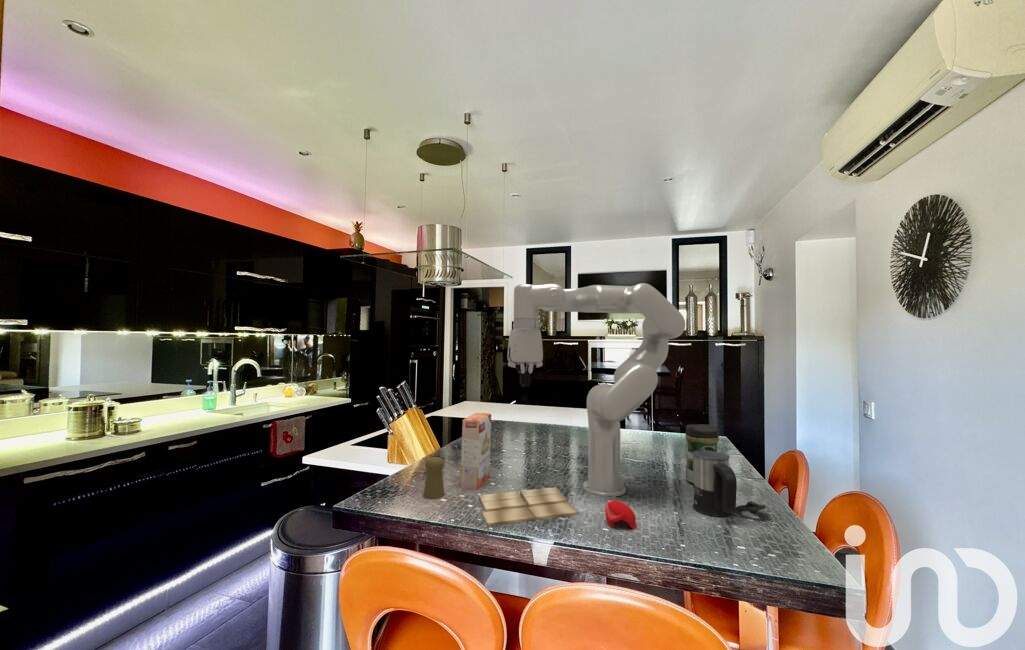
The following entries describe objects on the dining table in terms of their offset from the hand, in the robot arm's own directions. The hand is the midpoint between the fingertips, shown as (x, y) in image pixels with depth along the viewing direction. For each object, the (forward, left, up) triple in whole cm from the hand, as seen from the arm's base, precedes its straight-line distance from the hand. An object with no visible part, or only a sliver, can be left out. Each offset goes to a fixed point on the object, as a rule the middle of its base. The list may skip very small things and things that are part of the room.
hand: (525, 386), depth 120 cm
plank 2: (-3, +8, -31) cm, 32 cm away
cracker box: (+12, -11, -31) cm, 35 cm away
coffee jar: (-58, +8, -31) cm, 66 cm away
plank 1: (+9, +8, -31) cm, 33 cm away
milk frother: (-48, +28, -31) cm, 64 cm away
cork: (+26, -3, -31) cm, 41 cm away
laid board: (+4, +16, -31) cm, 35 cm away
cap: (-15, +28, -31) cm, 45 cm away
